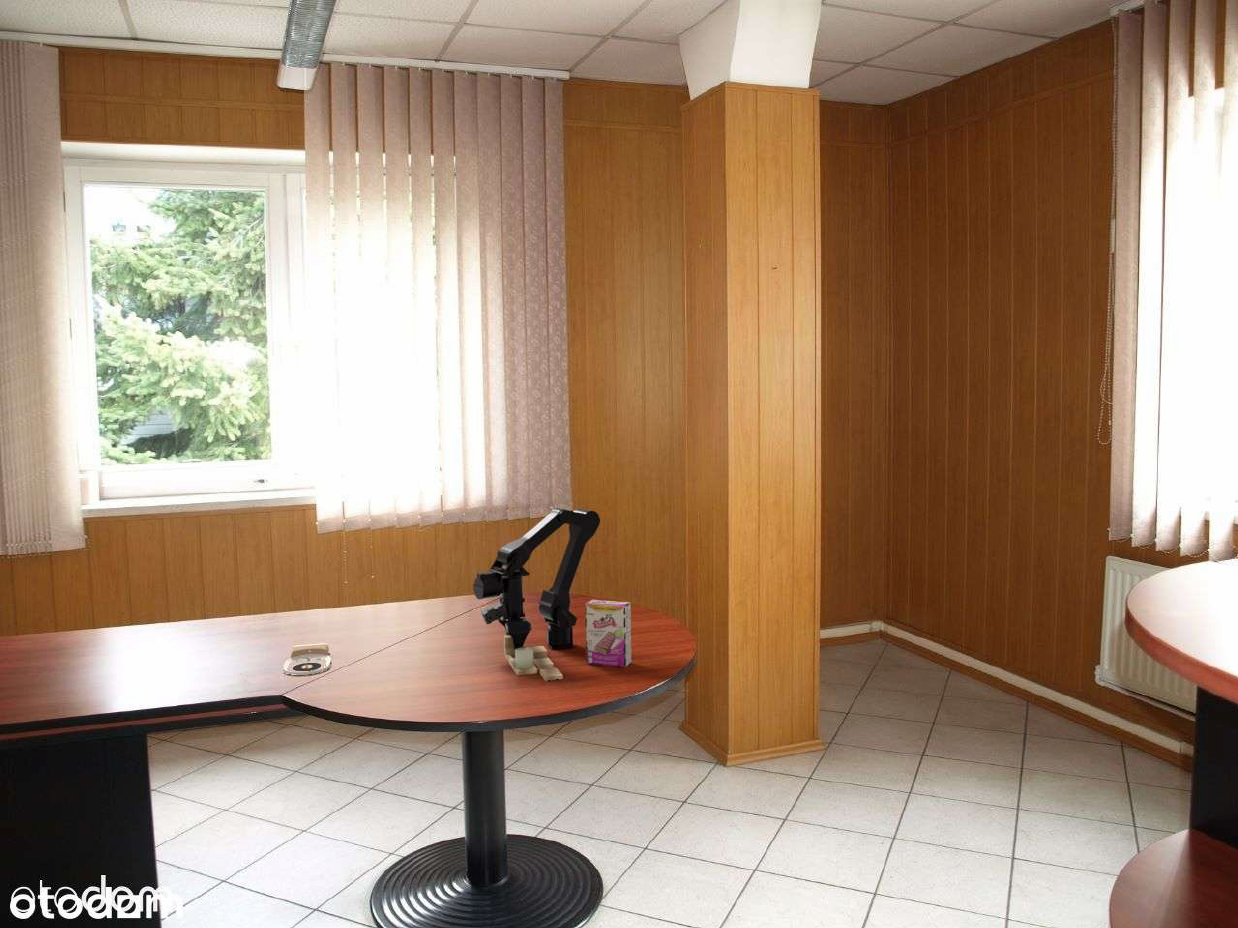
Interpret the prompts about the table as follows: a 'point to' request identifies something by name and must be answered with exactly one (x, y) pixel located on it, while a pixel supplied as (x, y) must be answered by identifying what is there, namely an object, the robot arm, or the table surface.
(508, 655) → the beige long blocky piece
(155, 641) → the table surface
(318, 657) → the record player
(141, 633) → the table surface
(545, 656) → the broken strip
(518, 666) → the mint rounded cylinder
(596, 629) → the candy bar box
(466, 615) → the table surface
